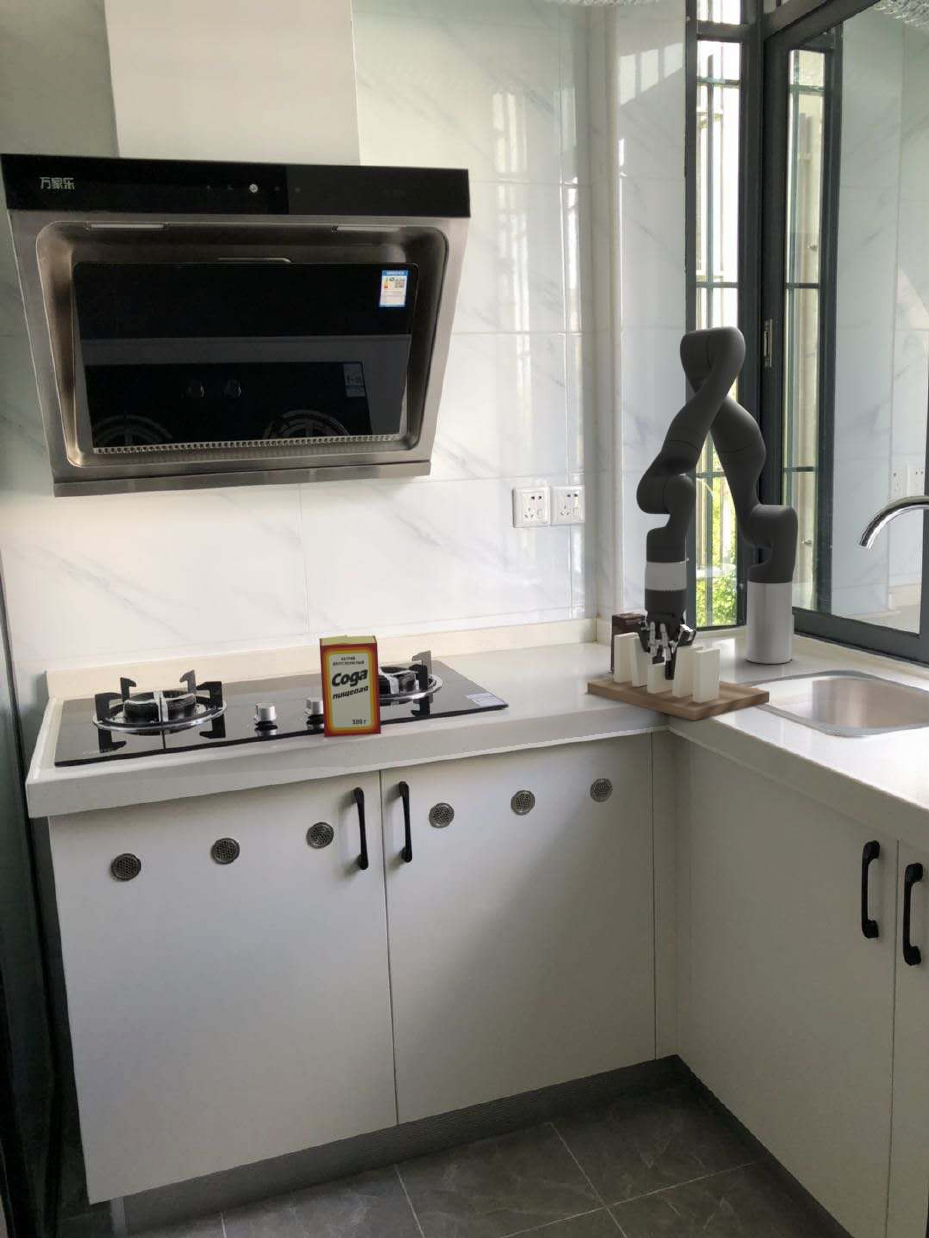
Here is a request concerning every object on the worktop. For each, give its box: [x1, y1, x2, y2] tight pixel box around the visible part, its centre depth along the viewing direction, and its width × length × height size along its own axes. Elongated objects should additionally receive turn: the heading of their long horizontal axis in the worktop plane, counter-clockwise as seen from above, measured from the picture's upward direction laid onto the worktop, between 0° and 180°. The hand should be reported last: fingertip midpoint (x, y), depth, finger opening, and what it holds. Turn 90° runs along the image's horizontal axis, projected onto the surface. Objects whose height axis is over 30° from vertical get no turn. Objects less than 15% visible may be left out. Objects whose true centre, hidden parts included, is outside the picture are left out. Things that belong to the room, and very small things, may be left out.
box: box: [610, 611, 647, 673], centre depth 211 cm, size 6×4×12 cm
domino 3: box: [647, 661, 674, 694], centre depth 189 cm, size 2×5×9 cm
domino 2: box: [628, 637, 652, 687], centre depth 192 cm, size 2×5×9 cm, turn 125°
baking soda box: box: [319, 635, 382, 738], centre depth 173 cm, size 10×6×16 cm
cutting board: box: [586, 676, 771, 721], centre depth 190 cm, size 20×27×2 cm
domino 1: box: [613, 632, 639, 683], centre depth 196 cm, size 2×5×9 cm, turn 125°
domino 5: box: [693, 647, 721, 703], centre depth 180 cm, size 2×5×9 cm, turn 125°
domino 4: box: [672, 643, 704, 698], centre depth 183 cm, size 2×5×9 cm, turn 125°
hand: (664, 677), depth 188 cm, fingers closed
